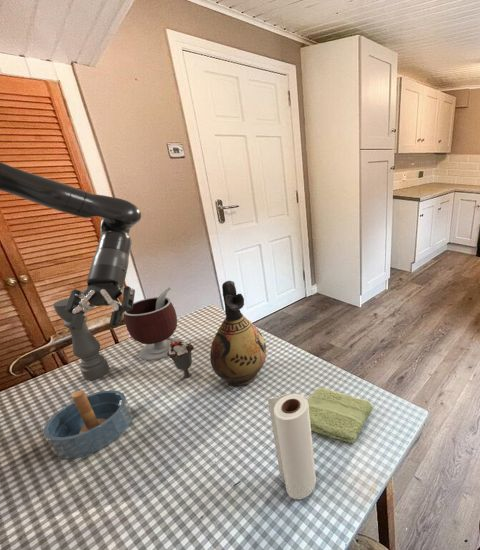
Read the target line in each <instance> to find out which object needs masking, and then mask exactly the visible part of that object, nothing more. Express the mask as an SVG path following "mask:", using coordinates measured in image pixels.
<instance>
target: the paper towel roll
mask: <svg viewBox="0 0 480 550" xmlns="http://www.w3.org/2000/svg"><path fill="white" fill-rule="evenodd" d="M307 399H308V398H306V397H305V396H304V395H302V394H299V393H290V394H289V393H287V394H283V395H279V396H276V397H268V398H267V403H268V410H269V416H270V422H271V427H272V434H273V441H274V446H275V452H276V458H277V465H278V470H279V476H280V477H281V476H283V477H284V485H285V491H286V493H287V495H288V496H289V497H290V498H292V499H294V500H303V499H306V498H307V497H309V496H310V495H312V493H313V491H314V490H315V488H316V484H317V483H316V482H317V476H316V466H315V465H316V464H315V457H314V447H313V438H312V437H313V436H312V431H311V425H310V415H309V405H308V401H307Z"/></svg>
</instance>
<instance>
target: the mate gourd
mask: <svg viewBox="0 0 480 550" xmlns="http://www.w3.org/2000/svg"><path fill="white" fill-rule="evenodd" d="M170 290H171V288H170V287H167V288H166V289H165V290H164V291H162V293H160V295H158V296H154V297H149V298H148V297H147V298H143V299H140V300H137V301H134V302H133V309H132V310H130V311H129V310H127V311H125V312H124V313H123V318H124V324H125V327H126V330H127V332H128V334H129V335H130V337H131V338H132V339H133V340H134V341H135V342H137V343H140V344H143V345H145V346H144V347H141V349H140V351H139V357H140V358H141V360H144V361H157V360H161V359H165V358H167V357H168V356H167V353H168V351H169V349H170V347H171V346H170V344H171V341H172V343H175V342H176V341H178V342H179V341H181V339H180V338H177V337H172V336H173V335H174V333H175V331H176V330H177V328H178V316H177V312H176V308H175V307H174V304H173V303H172V301H171V299H170V298H169V297H167V294H168V292H169V291H170ZM168 338H170V339H169V340H167V339H168ZM171 339H172V340H171ZM173 340H174V341H175V342H174V341H173Z"/></svg>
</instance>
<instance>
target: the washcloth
mask: <svg viewBox="0 0 480 550" xmlns="http://www.w3.org/2000/svg"><path fill="white" fill-rule="evenodd" d="M306 399H307V401H308V405H309V415H310V425H311V432H315V433H317V434H319V435H323V436H326V437H328V438H329V437H330V438H332V439H336V440H339V441H342V442H347V443H349V444H351V443H356V442H357V440H358V438H359V434H360V433H361V431H362V429H363V427H364V423H365V421H366V420H367V419H368V418H369V416H370V414H371V413H372V411H373V410H374V405H373V404H372V403H371V402H370V401H369V400H367V399H363V398H359V397H358V398H357V397H354V396H352V395H349V394H346V393H342V392H338V391H335V390H333V389H330V388H327V387H318V388H316V389H315V390H314V391H313V392H312V393H311V395H309V396H308V398H306Z"/></svg>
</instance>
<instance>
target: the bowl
mask: <svg viewBox="0 0 480 550" xmlns="http://www.w3.org/2000/svg"><path fill="white" fill-rule="evenodd" d="M86 396H87V398H88V401H89V403H90V405H91V407H92V409H93V411H94V414H95V416H96V418H97V419H101V418H103V419H106V421H104V422H103V423H101V424H100V425H98V426H96V427H94V428H92V429H90V430H88V431H86V432H83V433H80V434H79V432H80V430H81V429H82V428H83V427H84V426H85V424H84V422H83V419H82V417H81V415H80V413H79V411H78V409H77V407H76V405H75V403H74V401H72V402H70V403H69V404H67V405H65V406H63V407H62V408H61V409H60V410H58V411H57V412H56V413H54V414H53V415H52V416H51V417H50V418H49V419H48V421H46V423H45V424H44V427H43V430H42V432H43V437H44V439H45V440H46V442H47V444H48V446H49V447H50V450H51V451H52V453H53V454H54V456H56V457H58V459H63V460H64V459H65V460H73V459H77V458H82V457H85V456H88V455H91V454H93V453H96V452H97V451H100V450H101V449H104V448H105V447H107V446H108V445H109V446H110V444H111V443H113V442H114V441H116V440H117V439H118V438H120V436H121V435H122V434H124V433H125V431H127V429H128V428H129V426H130V424H131V423H132V420H133V413H132V409H131V407H130V404H129V402H128V400H127V398H126V396H125V393H123V392H121V391H119V390H111V389H108V390H103V391H97V392H94V393H91V394H86Z"/></svg>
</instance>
